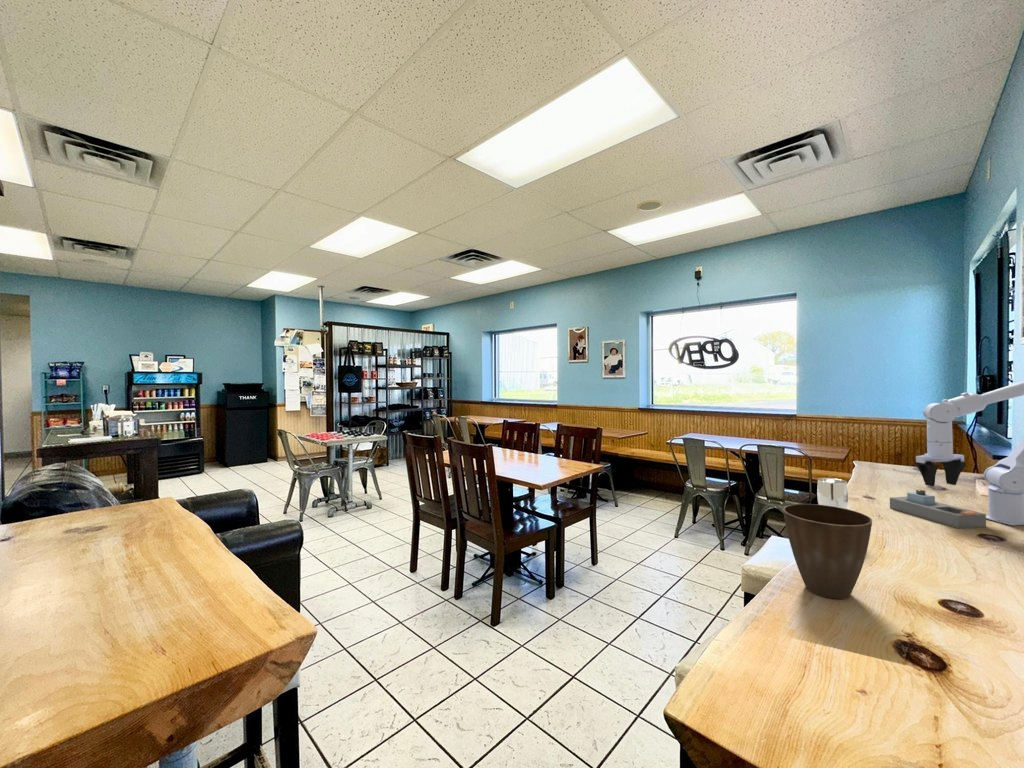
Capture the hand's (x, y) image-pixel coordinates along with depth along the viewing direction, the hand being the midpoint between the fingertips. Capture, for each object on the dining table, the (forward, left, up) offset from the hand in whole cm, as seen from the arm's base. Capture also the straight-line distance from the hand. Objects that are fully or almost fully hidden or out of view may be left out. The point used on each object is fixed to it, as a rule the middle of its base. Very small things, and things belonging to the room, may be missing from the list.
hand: (940, 485), depth 135 cm
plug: (+4, -3, -10) cm, 11 cm away
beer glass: (+45, +9, -10) cm, 47 cm away
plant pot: (+73, +38, -10) cm, 83 cm away
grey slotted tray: (+4, +1, -9) cm, 10 cm away
